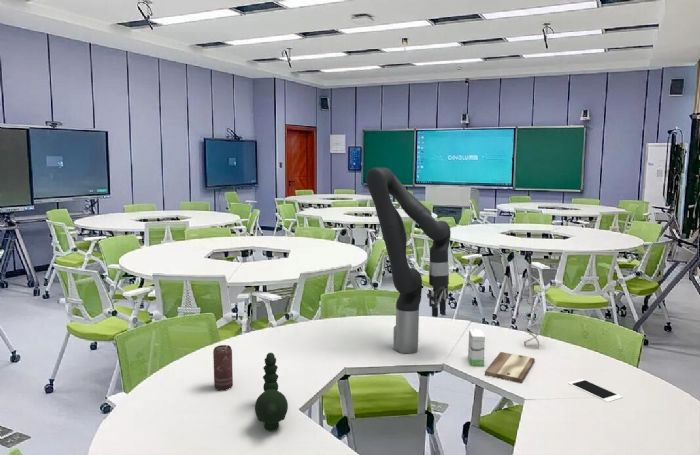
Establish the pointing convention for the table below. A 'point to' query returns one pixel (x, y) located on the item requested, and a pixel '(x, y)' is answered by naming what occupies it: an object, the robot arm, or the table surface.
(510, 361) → the floorboard
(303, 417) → the table surface
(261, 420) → the dark green knobbed piece
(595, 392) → the cell phone
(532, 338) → the dna model
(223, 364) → the can
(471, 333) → the ink box
